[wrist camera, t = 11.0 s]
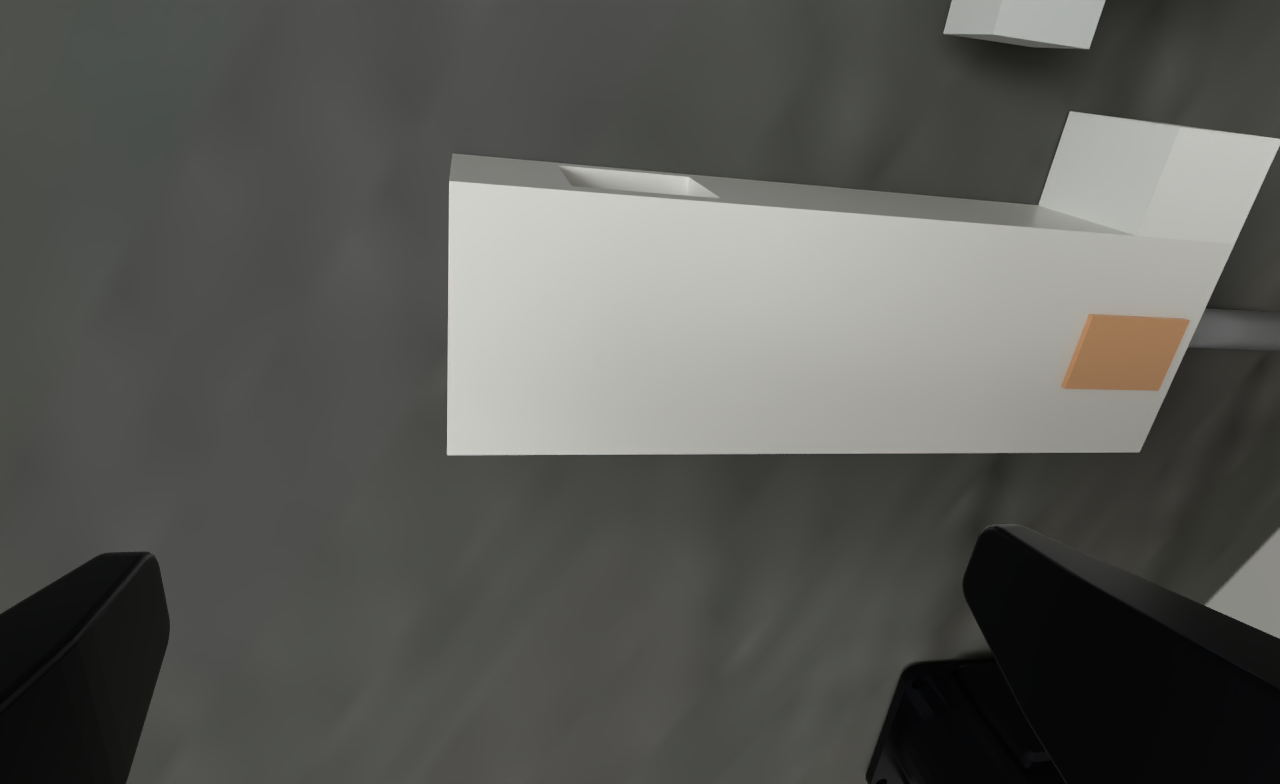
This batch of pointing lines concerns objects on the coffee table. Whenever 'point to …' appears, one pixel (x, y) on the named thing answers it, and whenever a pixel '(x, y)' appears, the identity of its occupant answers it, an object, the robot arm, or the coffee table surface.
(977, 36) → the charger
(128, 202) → the coffee table surface
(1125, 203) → the power strip
